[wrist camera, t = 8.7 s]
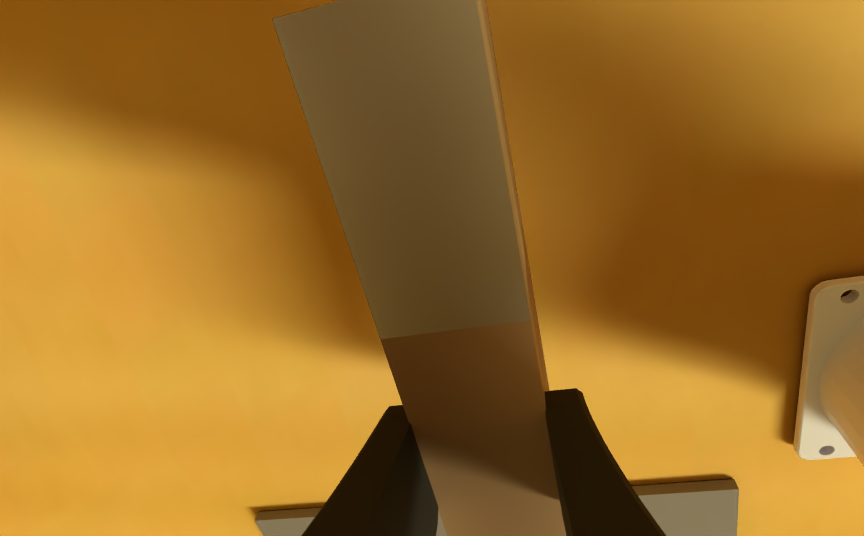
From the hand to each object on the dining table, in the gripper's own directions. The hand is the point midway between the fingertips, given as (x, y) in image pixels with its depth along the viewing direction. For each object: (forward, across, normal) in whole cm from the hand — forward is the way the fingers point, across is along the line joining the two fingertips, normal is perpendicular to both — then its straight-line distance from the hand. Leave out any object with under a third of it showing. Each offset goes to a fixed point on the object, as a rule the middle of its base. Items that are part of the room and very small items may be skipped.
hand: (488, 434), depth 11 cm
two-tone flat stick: (+3, 0, 0) cm, 3 cm away
